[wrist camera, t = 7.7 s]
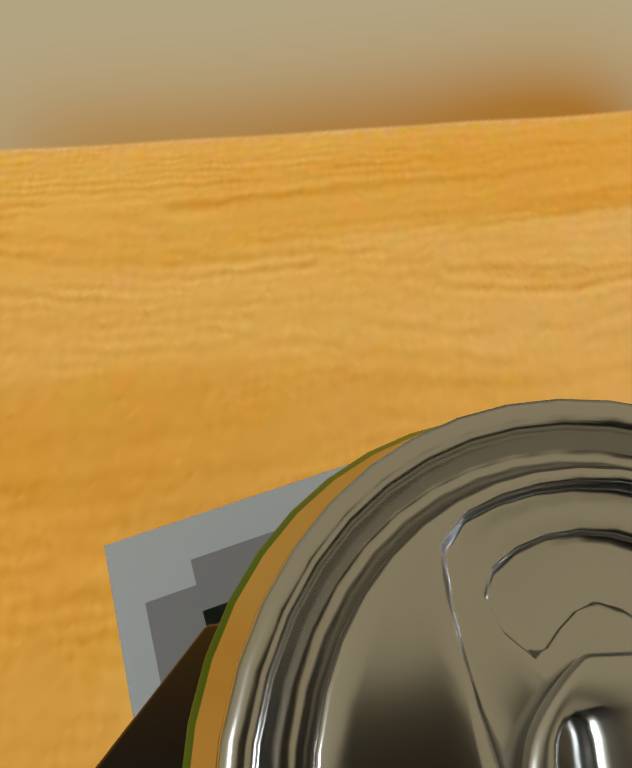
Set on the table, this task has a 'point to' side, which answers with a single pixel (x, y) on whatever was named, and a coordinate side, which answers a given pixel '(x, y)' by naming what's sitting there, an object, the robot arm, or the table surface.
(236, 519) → the socket
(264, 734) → the soda can
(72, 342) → the table surface
